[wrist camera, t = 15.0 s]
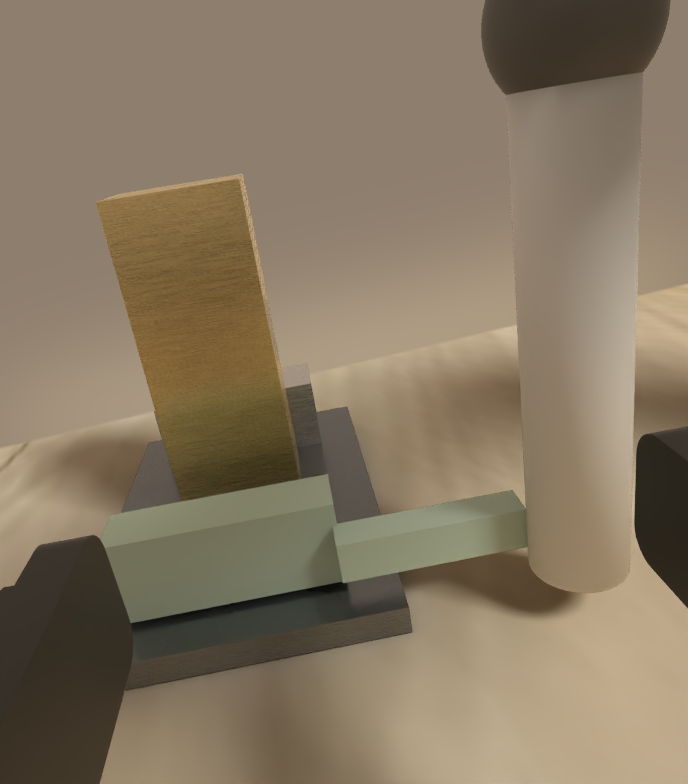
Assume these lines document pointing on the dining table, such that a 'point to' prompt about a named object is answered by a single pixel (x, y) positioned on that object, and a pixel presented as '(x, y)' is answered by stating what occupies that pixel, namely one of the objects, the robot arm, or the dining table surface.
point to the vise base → (282, 611)
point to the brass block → (204, 333)
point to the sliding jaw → (535, 347)
